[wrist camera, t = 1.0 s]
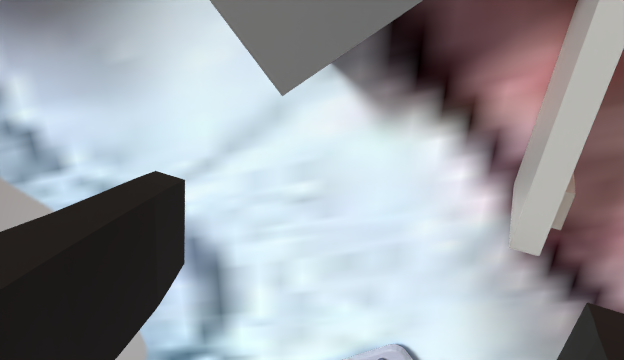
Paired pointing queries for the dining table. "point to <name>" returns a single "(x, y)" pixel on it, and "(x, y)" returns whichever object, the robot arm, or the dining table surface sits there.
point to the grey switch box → (305, 32)
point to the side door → (565, 122)
